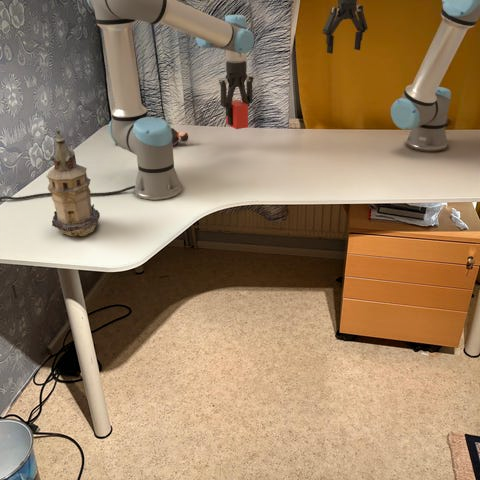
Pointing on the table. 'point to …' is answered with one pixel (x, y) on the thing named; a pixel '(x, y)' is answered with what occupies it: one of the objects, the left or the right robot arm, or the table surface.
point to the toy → (178, 136)
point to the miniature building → (70, 193)
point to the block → (239, 114)
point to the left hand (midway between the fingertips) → (237, 123)
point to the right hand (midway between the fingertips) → (343, 51)
